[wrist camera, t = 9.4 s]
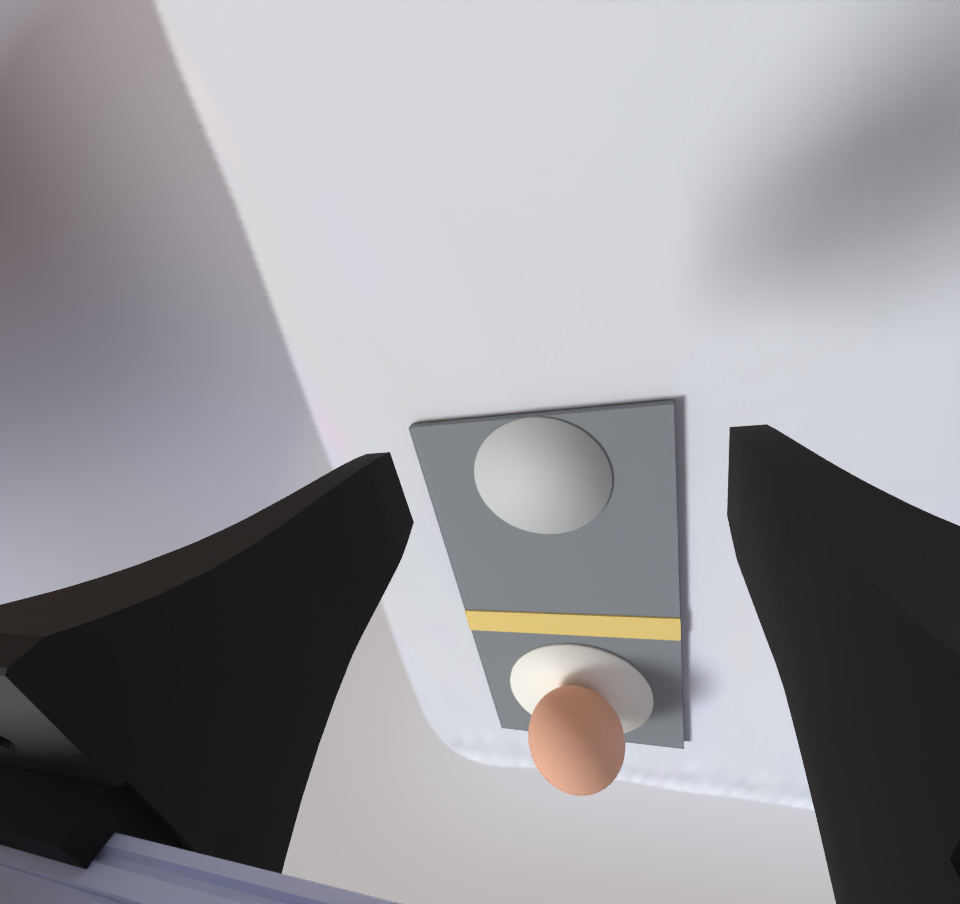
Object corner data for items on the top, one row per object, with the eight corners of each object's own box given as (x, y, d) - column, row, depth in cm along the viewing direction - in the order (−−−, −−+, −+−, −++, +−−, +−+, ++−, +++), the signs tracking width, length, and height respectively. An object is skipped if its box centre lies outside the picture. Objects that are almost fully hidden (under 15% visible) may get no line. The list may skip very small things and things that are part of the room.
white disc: (684, 691, 26) (685, 694, 26) (601, 749, 30) (601, 753, 30) (552, 621, 25) (552, 624, 25) (488, 690, 30) (487, 693, 30)
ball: (643, 694, 26) (647, 794, 22) (593, 731, 29) (589, 827, 25) (562, 652, 26) (552, 745, 22) (520, 693, 29) (504, 783, 25)
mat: (683, 742, 28) (684, 750, 28) (503, 721, 32) (501, 729, 31) (673, 399, 18) (674, 405, 18) (411, 424, 22) (407, 429, 21)
